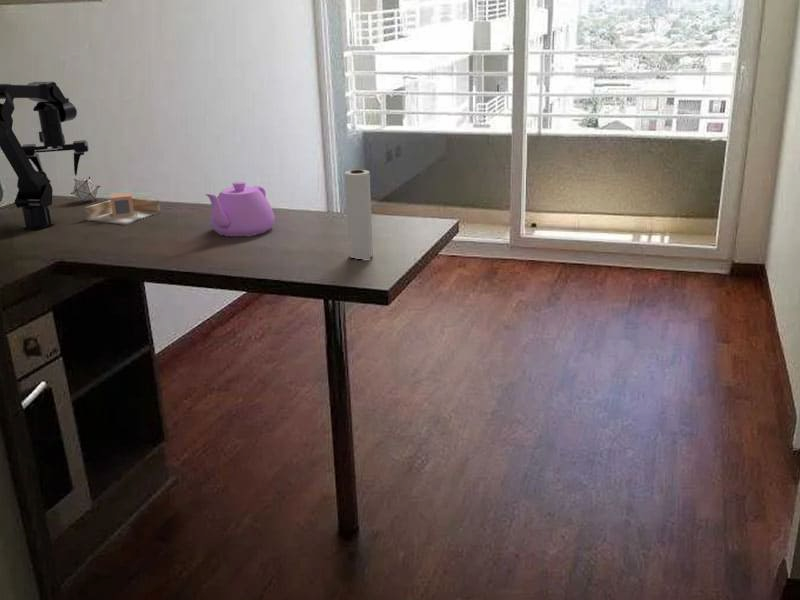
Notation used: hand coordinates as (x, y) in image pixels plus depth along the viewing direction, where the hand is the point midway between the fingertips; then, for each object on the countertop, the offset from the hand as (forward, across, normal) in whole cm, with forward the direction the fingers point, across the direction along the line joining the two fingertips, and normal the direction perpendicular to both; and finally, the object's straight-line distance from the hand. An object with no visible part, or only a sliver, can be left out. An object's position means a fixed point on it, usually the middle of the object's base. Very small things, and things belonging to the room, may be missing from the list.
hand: (59, 176), depth 244 cm
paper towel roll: (+12, -72, +81) cm, 109 cm away
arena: (+12, -17, +11) cm, 24 cm away
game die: (+12, -6, -17) cm, 22 cm away
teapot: (+12, -48, +42) cm, 65 cm away
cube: (+11, -17, +10) cm, 23 cm away
